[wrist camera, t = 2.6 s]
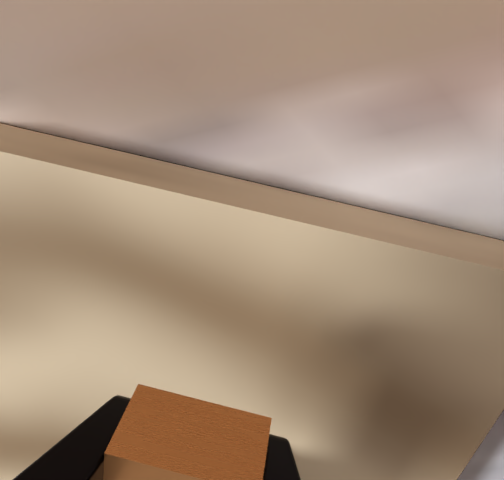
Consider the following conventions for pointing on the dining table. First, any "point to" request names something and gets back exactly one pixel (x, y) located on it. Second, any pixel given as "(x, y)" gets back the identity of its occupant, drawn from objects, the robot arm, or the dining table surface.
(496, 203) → the dining table surface
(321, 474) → the board
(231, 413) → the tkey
